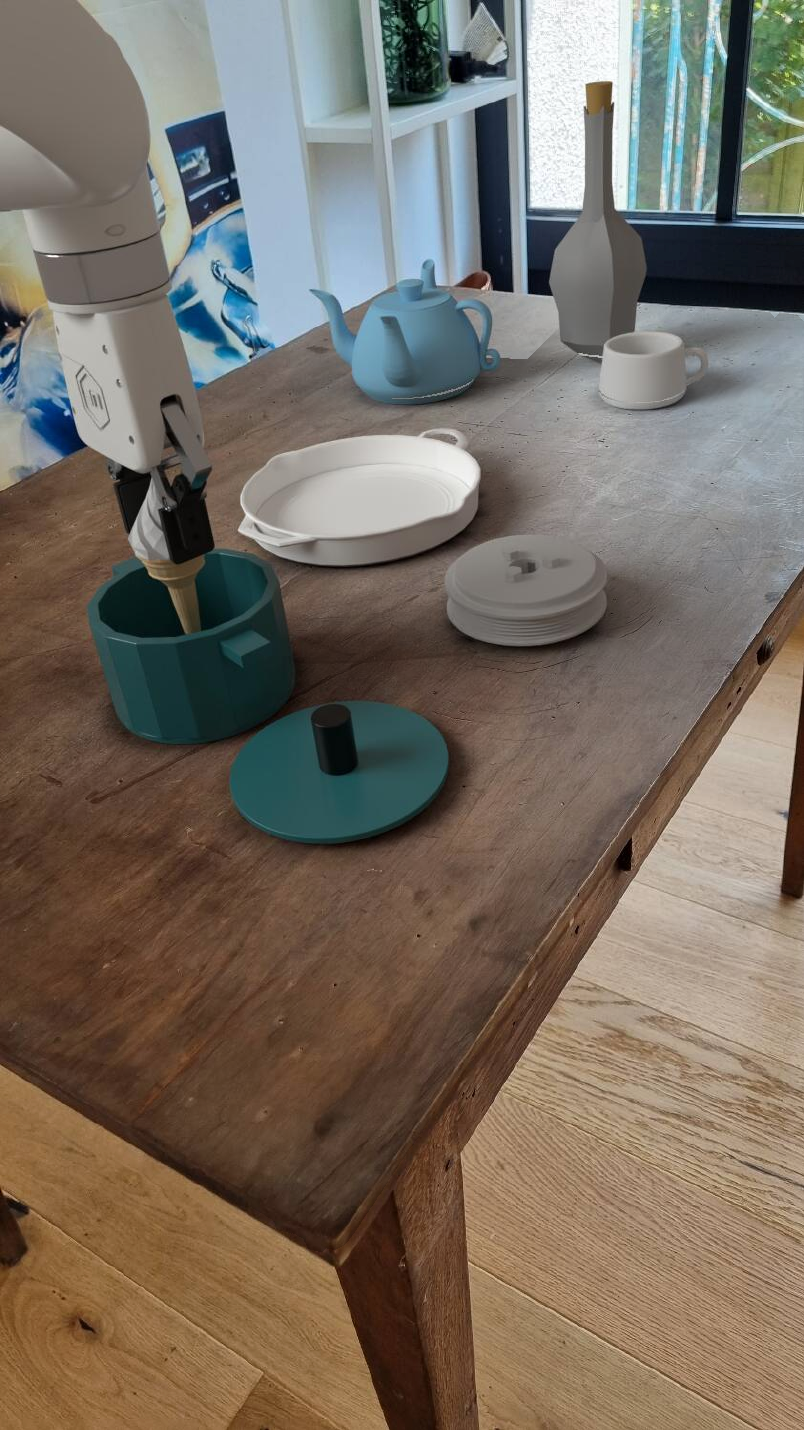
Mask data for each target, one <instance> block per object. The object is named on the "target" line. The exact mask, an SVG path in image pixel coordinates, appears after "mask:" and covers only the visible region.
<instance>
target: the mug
mask: <svg viewBox="0 0 804 1430" xmlns="http://www.w3.org/2000/svg"><path fill="white" fill-rule="evenodd" d="M688 356H696V357H697V358H698V359H699V360H700V368H699V370H698V372H697V373H696V374H694V375H692V376H691V377H687V368H686V357H688ZM708 366H709V358H708V355H707V353H706V352H705V351H704V350H703V349H701V348H699V347H685V341H684V340H683V338H681V337H680V336H678V335H676V334H673V333H669V332H666V331H665V332H664V331H656V330H654V331H653V330H652V331H651V330H644V331H634V332H632V333H626V334H622V335H619V336H616V337H613V338H611V339H610V340H608V341H607V342H606V343H605V344H604V349H603V358H602V360H601V366H600V367H601V368H600V373H599V374H600V375H599V383H598V394H599V396H600V398H601V399H602V401H604V403H606V404H608V405H609V406H612V407H615V408H620V409H626V410H651V409H652V410H653V409H658V408H659V409H660V408H664V407H668V406H670V405H673V404H675V403H677V402H678V401H680V400H681V399H682V398H683V396H685V394H686V392H687V388H686V387H687V386H688V385H687V384H689V383H693V384H696V383H697V382H699V381H700V380H702V378H703V377H704V376H705V375H706V373H707V371H708V368H709V367H708ZM685 388H686V390H685ZM599 390H600V391H601V393H602V394H604V395H605V396H607V397H609V398H612V399H615V400H619V401H624V402H635V403H624V402H618V401H614V400H610V399H607V398H606V397H604V396H602V395H601V393H600V392H599ZM683 390H685V391H684V392H683V393H682V394H680V395H679V396H677V397H674V398H672V399H669V400H664V399H667V398H670V397H673V396H675V395H677V394H679V393H681V392H682V391H683ZM660 400H664V401H660ZM651 401H652V402H653V403H636V402H651ZM654 401H660V402H654Z"/></svg>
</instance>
